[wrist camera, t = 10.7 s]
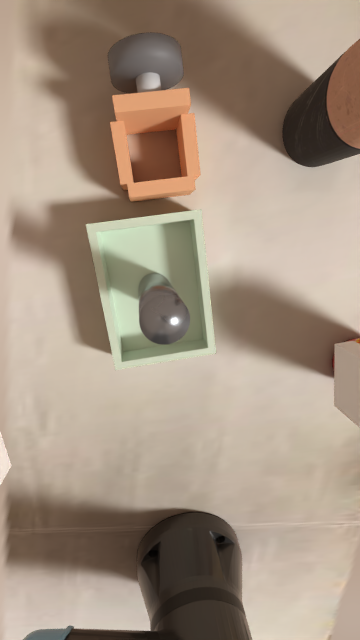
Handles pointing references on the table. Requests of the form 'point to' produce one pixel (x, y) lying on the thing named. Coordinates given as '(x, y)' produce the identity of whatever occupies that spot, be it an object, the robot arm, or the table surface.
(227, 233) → the table surface
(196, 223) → the tray
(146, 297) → the pin
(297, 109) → the travel mug
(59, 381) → the table surface
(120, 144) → the block
